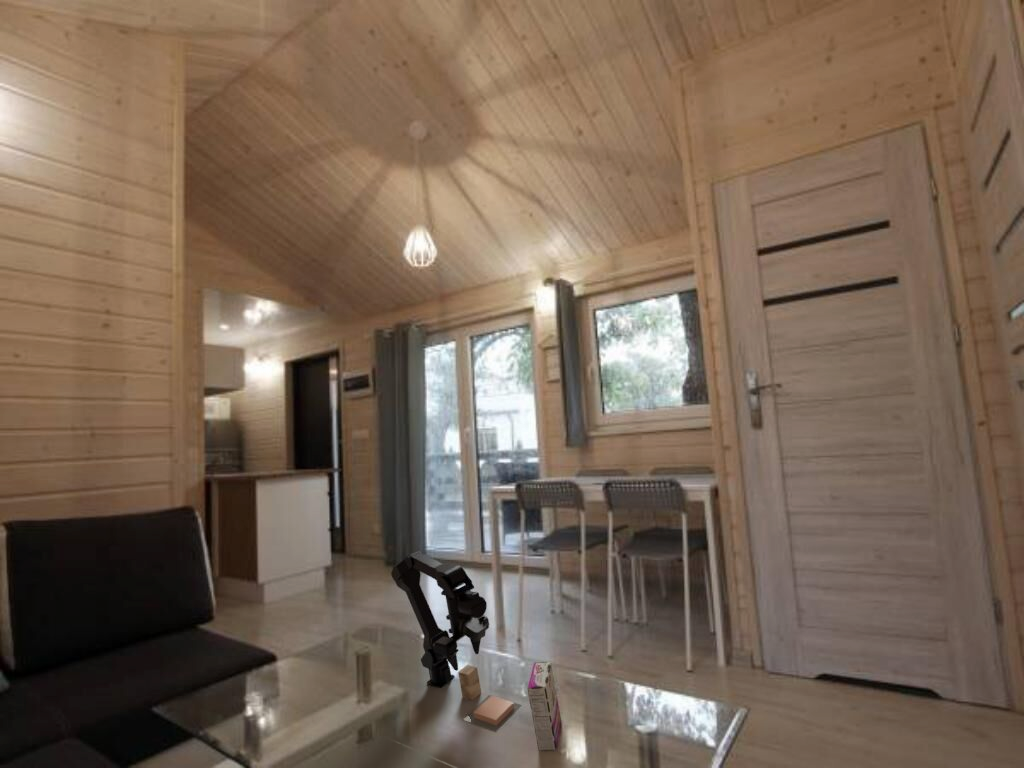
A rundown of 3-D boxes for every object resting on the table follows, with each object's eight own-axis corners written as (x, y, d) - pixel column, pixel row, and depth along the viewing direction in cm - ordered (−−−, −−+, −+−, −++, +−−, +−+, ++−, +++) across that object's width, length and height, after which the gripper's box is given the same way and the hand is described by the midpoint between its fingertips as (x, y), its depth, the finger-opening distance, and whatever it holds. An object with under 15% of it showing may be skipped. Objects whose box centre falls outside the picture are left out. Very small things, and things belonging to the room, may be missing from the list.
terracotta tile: (473, 712, 152) (495, 719, 147) (491, 695, 158) (513, 702, 153) (474, 718, 152) (496, 725, 147) (492, 701, 158) (514, 708, 153)
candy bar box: (543, 721, 146) (533, 661, 146) (561, 721, 145) (551, 660, 145) (537, 751, 135) (526, 687, 135) (557, 751, 134) (546, 686, 134)
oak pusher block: (462, 698, 163) (458, 671, 162) (471, 690, 166) (467, 664, 166) (472, 701, 160) (468, 674, 160) (481, 693, 163) (477, 667, 163)
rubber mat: (462, 720, 152) (461, 719, 152) (489, 695, 162) (489, 694, 162) (495, 732, 145) (495, 731, 145) (521, 706, 154) (521, 704, 154)
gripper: (456, 629, 150) (466, 685, 150) (498, 600, 165) (507, 650, 165) (428, 623, 157) (437, 676, 157) (470, 595, 171) (479, 644, 172)
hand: (466, 661), depth 163 cm, fingers open, 9 cm apart
